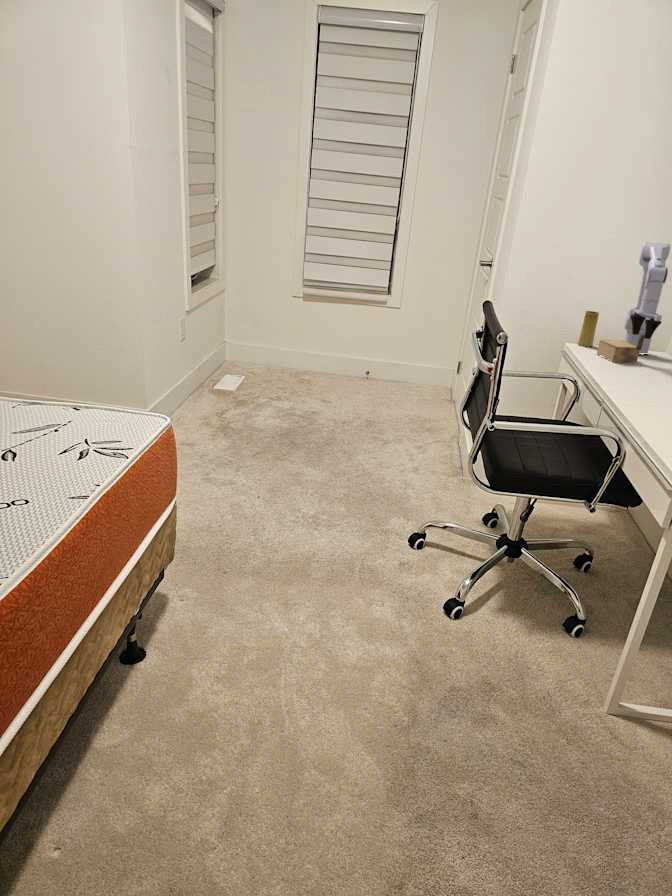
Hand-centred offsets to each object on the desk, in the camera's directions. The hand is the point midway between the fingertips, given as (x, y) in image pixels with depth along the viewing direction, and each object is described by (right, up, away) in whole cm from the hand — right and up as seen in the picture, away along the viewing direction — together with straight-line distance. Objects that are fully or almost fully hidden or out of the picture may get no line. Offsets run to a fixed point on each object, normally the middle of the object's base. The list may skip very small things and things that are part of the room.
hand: (641, 336), depth 233 cm
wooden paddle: (-4, -9, +3) cm, 11 cm away
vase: (-10, +1, +29) cm, 31 cm away
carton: (-5, -7, +10) cm, 13 cm away
